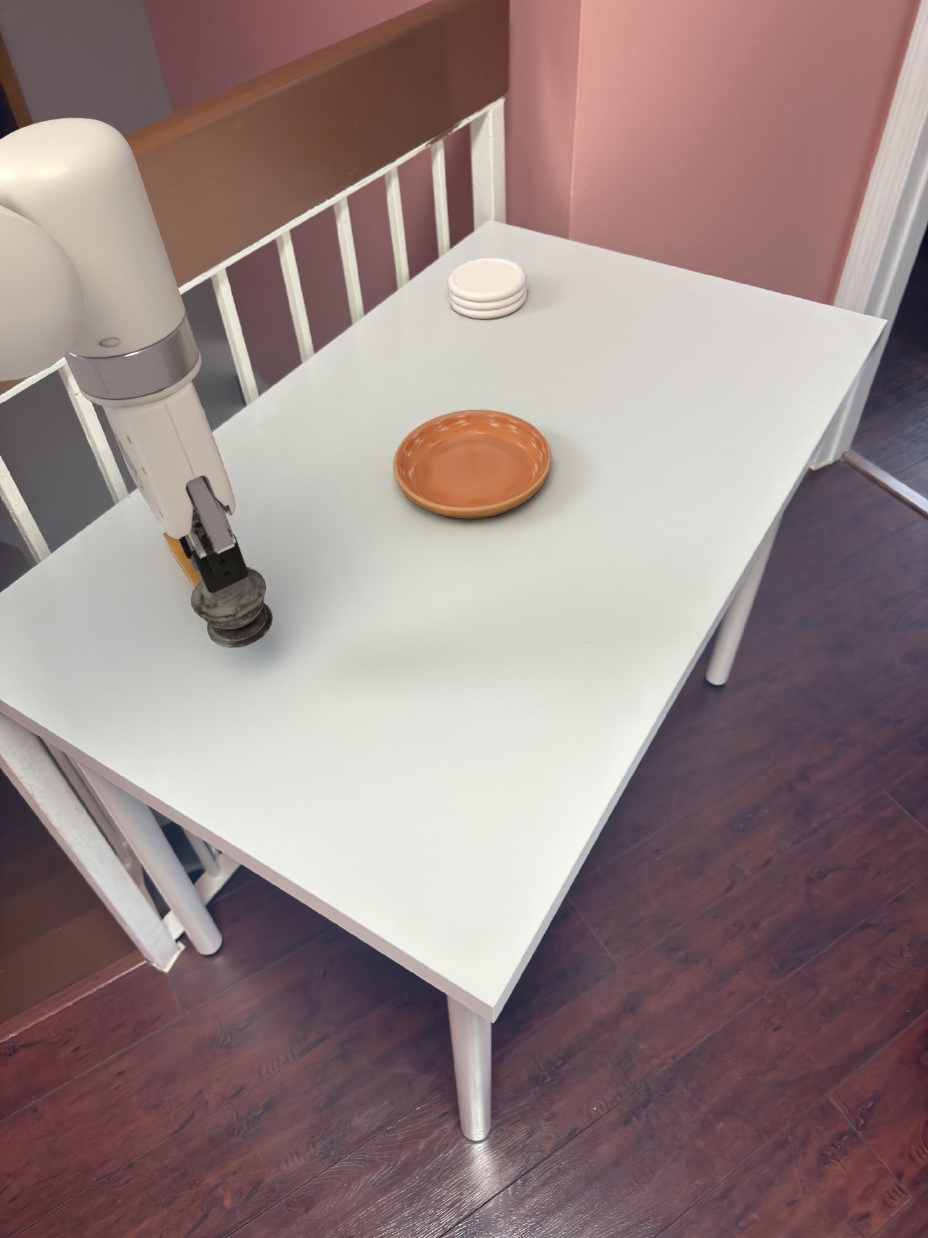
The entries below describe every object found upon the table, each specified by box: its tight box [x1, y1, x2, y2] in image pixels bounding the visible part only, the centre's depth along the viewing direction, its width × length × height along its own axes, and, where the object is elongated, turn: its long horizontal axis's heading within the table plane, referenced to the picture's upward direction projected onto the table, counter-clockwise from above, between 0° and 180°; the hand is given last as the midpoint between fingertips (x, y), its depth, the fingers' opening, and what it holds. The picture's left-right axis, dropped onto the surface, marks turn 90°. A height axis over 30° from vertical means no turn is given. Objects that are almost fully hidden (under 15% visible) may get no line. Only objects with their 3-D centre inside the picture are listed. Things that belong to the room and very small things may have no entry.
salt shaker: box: [185, 525, 274, 649], centre depth 69 cm, size 6×6×12 cm
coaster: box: [447, 257, 528, 320], centre depth 117 cm, size 10×10×4 cm
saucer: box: [392, 409, 552, 520], centre depth 93 cm, size 16×16×3 cm
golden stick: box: [162, 531, 202, 589], centre depth 86 cm, size 2×14×2 cm, turn 32°
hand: (216, 564), depth 68 cm, fingers closed on salt shaker, 3 cm apart
